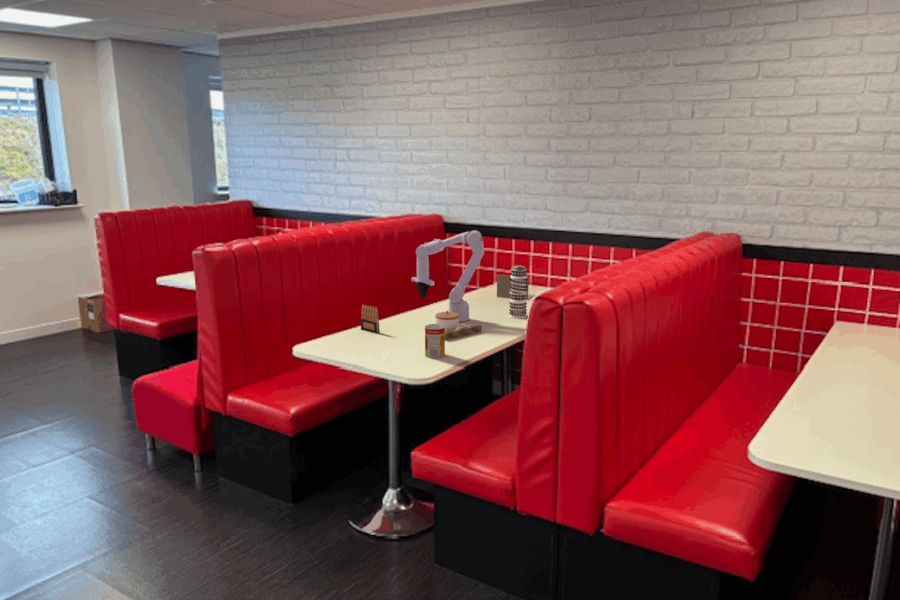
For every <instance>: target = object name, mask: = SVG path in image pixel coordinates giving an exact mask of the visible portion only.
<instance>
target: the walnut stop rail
mask: <svg viewBox="0 0 900 600" xmlns="http://www.w3.org/2000/svg"><path fill="white" fill-rule="evenodd" d="M482 327H483V326H482V324H479V323H478V324H474V325H469V326H465V327H461V328H456V329H455V330H452V331H448V332H445V340H446V341H448V340H449V339H450V340H453V338H454V339H457V338H460V337H464V336H468V335H472V334H478V333H482Z"/></svg>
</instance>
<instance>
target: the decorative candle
mask: <svg viewBox="0 0 900 600" xmlns="http://www.w3.org/2000/svg"><path fill="white" fill-rule="evenodd" d="M527 272H528V269H527V267H526V266H525V265H523V264H522V265H519V264H518V265H517V264H516V265H513V266H512V268H510V276H511V277H510V278H509V280H510V282H509V284H510V285H509V287H510V294H511V298H509V312H508V314H509V315H508V316H509V317H510V318H512V319H524V318H527V314H528V313H527V311H528V310H527V307H528V306H527V304H528V303H527V300H526V294H527V292H526V291H527V289H526V288H527V287H528V288H529V285H528V286H527V285H526V284H527V283H528V282H526V281H527V280H528V279H527V277H528V275H527V274H528V273H527Z"/></svg>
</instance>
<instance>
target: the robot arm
mask: <svg viewBox="0 0 900 600" xmlns="http://www.w3.org/2000/svg"><path fill="white" fill-rule="evenodd" d="M458 243H462V244H467V245H468V246H469V247H470V249H471V253H472V255H471V257H470V259H469V261H468V263H467V265H466V266H465V268H464V271H463V273H462V274H461V276H460V277H459V280H458V282H457V284H456V285H455V287H453V288H452V289H451V291H450V292H449V294H448V299H449V301H448V312H455V313H458V314H459V323H462V322H466V321H471V318H470V305H469V303H468V301H466V300H464V299H463V297H464V296H465V291H466V288H467V286H468V284H469V283H470V281H471V279H472V277H473V274H474V273H475V271H476V269H477V267H478V265H479V264H480V262H481V260H482V258H483V256H484V254H485V249H484V238H483V235H482V233H481V232H480V231H479V230H475V229H474V230H471V231H465V232H461V233H459V234H455V235H454V236H450V237H448V238H446V239H440V238H438V239H437V238H434V239H433V240H432V241H430V242H424V244H420V245H419V246H418V247H416V249H415V254H416V276H413V277H412V276H411V282H415V283H416V284H415V287H416V288H417V291H418V293H419V296H420V299H426V297H427V292H428V290H429V288H430V286H431V287H432V286H435V281H434V280H432V279H430V278H429V277H430V270H429V269H430V261H429V255H430V256H431V255H434V254H437V253H439V252H442V251H444V249H445V248H446V247H449V246H453V245H455V244H458Z"/></svg>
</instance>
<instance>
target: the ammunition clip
mask: <svg viewBox="0 0 900 600" xmlns="http://www.w3.org/2000/svg"><path fill="white" fill-rule="evenodd" d="M360 330H362V331H365V332H368V333H372V334H381V333H380V321H379V311H378V307H377V306H372V305H367V304H365V305H364V303H362V305H361V319H360Z"/></svg>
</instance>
